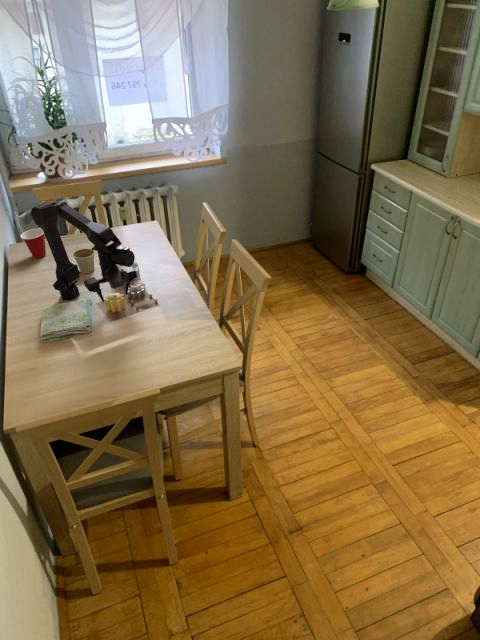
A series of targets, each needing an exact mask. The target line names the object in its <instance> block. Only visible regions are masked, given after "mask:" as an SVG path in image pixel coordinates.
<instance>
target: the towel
mask: <svg viewBox="0 0 480 640" xmlns="http://www.w3.org/2000/svg"><path fill="white" fill-rule="evenodd" d="M92 328H93V303H92V300H91V298H90V297H89V298H83V299H78V300H74V301H73V300H71V301H68V302H63V303H58V304H52V305H49V306H45V307H43V308H42V316H41V321H40V331H39V336H40V339H41V342H43V343H49V342H55V341H59V340H63V339H64V340H65V339H70V338H73V337H74V336H73V335H83V334H86V333H87V334H91V332H92Z"/></svg>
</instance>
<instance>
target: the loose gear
mask: <svg viewBox="0 0 480 640" xmlns="http://www.w3.org/2000/svg"><path fill="white" fill-rule="evenodd" d="M123 294H124V293H122V294H121V293H120V292H115V293H114V292H113V293H110V294H109V295H107V296H106V297H105V300H106V302H107V307H108V310H109V311H110V310H112V312H115V311H122V309H125V308H126V306H125V299H124V295H123Z"/></svg>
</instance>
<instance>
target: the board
mask: <svg viewBox="0 0 480 640" xmlns="http://www.w3.org/2000/svg"><path fill="white" fill-rule="evenodd" d="M144 291H145V296H142V297H141V298H140V299H138V298H137V299H132V298H129V297H128V293H127V295H126V294H125V293H122V294H123V295H124V299H125V306H126V308H125V309H122V311H115V312H112V310H110V311H109V310H108V307H107V302H106V299H104V302H102V300H101V301H98V302H96V303H95V304H96V305H97V306H98V308H99V309H100V310H101V311H102V313H103V314H104V315H105V316H106V317H107V319H108V320H109V321H110V322H111V323H112V322H115V321H118V320H120V319H124V318H127V317H129V316H132V315H135V314H137V313H142V312H144V311H146V310H149V309H152V308H153V309H154V308H155V307H158V306H160V303H159V302H158V299H157V298H153V294H152V293H151V294H150V293H148V292H147V290H146V289H144Z"/></svg>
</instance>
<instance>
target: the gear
mask: <svg viewBox="0 0 480 640" xmlns="http://www.w3.org/2000/svg"><path fill="white" fill-rule="evenodd" d="M144 290H145V288H144V287H143V286H140V285H137V286H134V285H131V286H129V288H128V297H129V298H132V299H137V298H138V299H140V298H141V297H142V296H145V291H146V290H145V291H144Z"/></svg>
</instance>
